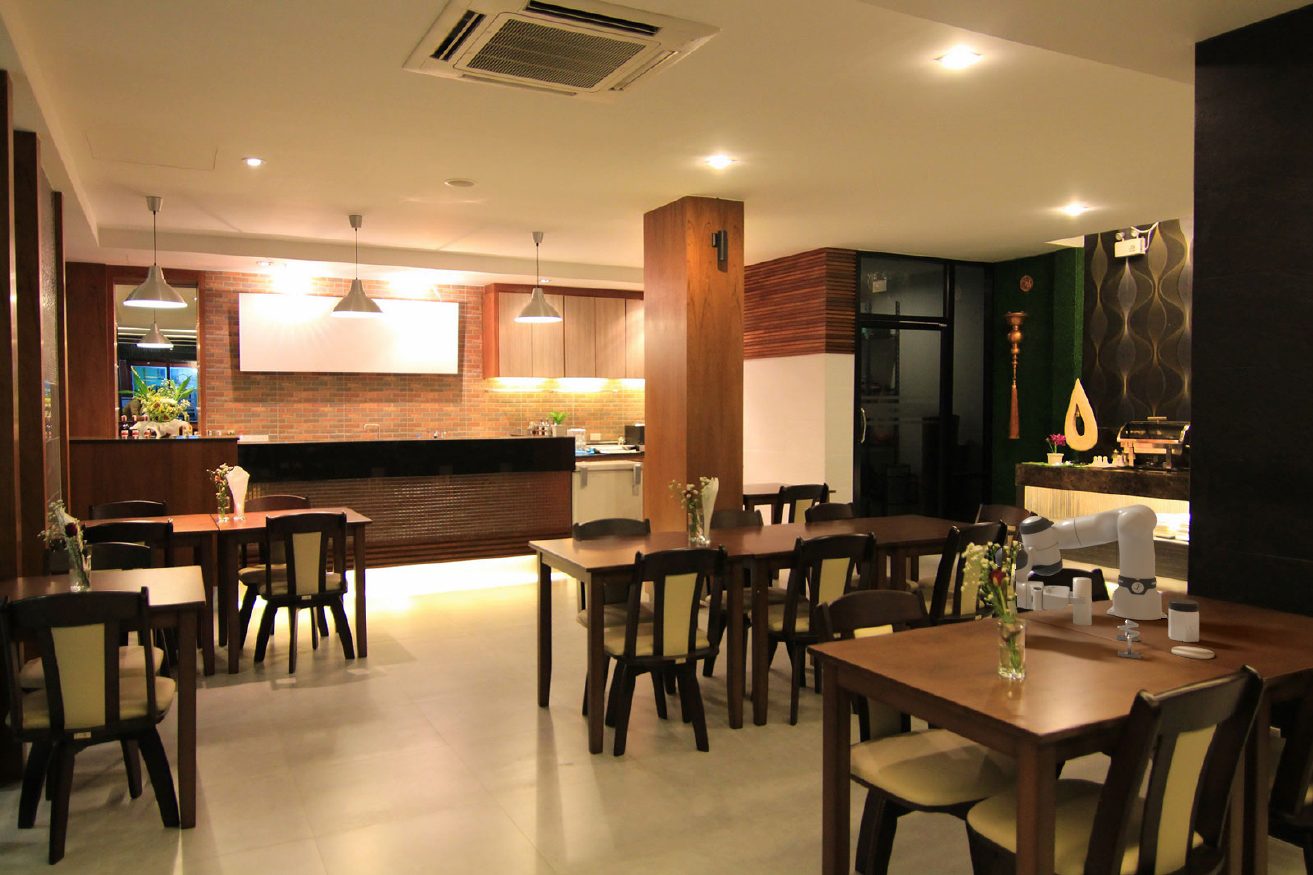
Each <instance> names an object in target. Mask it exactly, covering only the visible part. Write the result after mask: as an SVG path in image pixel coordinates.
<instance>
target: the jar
mask: <svg viewBox="0 0 1313 875" xmlns="http://www.w3.org/2000/svg"><path fill="white" fill-rule="evenodd" d="M1199 606H1200V604H1199V602H1198V601H1196V600H1192V599H1185V598H1171V599H1169V600H1168V615H1167V616H1168V618H1167V620H1168V621H1167V622H1168V627H1167V628H1168V629H1167V630H1168V632H1167V635H1168V638H1169V639H1170V640H1172V641H1177V642H1182V641H1183V643H1195V642H1197V643H1198V642H1199V641H1200V612H1199Z"/></svg>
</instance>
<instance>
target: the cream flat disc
mask: <svg viewBox="0 0 1313 875" xmlns="http://www.w3.org/2000/svg"><path fill="white" fill-rule="evenodd" d="M1170 651H1171V654H1174V655H1176V656H1180V657H1182V658H1189V659H1197V660H1199V659H1201V660H1203V659H1205V660H1207V659H1213V658H1215V652H1214V651H1212V650H1210V649H1208V648H1207V649H1206V648H1203V647H1202V648H1201V647H1196V646H1185V645H1183V646H1182V645H1181V646H1180V645H1179V646H1173V647H1171V650H1170Z"/></svg>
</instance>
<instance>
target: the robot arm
mask: <svg viewBox="0 0 1313 875" xmlns="http://www.w3.org/2000/svg"><path fill="white" fill-rule="evenodd" d="M1157 523H1158V517H1157V515H1156V513H1155V511H1154V510H1153V509H1152V508H1151V507H1149V506H1148V505H1144V504H1133V505H1128V506H1124V507H1119V508H1114V509H1111V510H1110V509H1109V510H1105V511H1101V512H1098V513H1091V514H1086V515H1082V516H1076V517H1072V518H1071V517H1070V518H1066V519H1064V520H1061V521H1058V522H1054V521H1053V520H1049V519H1048V518H1047V517H1045V516H1041V515H1034V516H1032V515H1031V516H1029V517H1027V518H1025V519H1023V520H1021V522H1020V523H1019V534H1020V535H1021V540H1022V542H1020V541H1018V542H1019V543H1021V548H1020V549H1019V552H1018V554H1017V557H1016V569H1015V575H1016V594H1017V607H1016V608H1022V609H1025V610H1026V609H1027V610H1034V611H1036V612H1043V610H1046V611H1048V610H1049V611H1063V610H1068V609H1069V606H1070V605H1072V606H1073V605H1074V604H1085V598H1082V597H1079V598H1075V597H1073V591H1070V590H1071V588H1070V586H1065V585H1063V586H1062V585H1044V582H1043V581H1035V580H1033V581H1032V580H1028V578H1029V576H1028V575H1030V574H1031V572H1033V573H1034V574H1036V575H1039V576H1043V577H1044V576H1045V577H1047V576H1052V575H1055V574H1057V573H1060V572H1061V570H1062V569H1063V566H1064V565H1063V564H1064V563H1063V558H1062V556H1061V551H1060V550H1070V549H1071V550H1072V549H1074V550H1075V549H1081V548H1086V547H1092V546H1098V545H1104V544H1108V543H1112V542H1117V541H1118V548H1119V550H1118V551H1119V574H1118V576H1117V585H1118V586H1117V588H1115V589H1114V590H1113V592H1112V596H1111V598H1112V603H1111V604H1112V606H1111V607H1110V608H1109V609H1108V610H1107V611H1106V614H1107V615H1112V616H1117V617H1119V618H1124V619H1128V620H1130V619H1131V620H1140V621H1154V620H1156V621H1157V620H1159V619H1161V618H1167V619H1168V615H1167V614H1166V613H1165V612H1163V611H1162V593H1160V592H1159V591H1158V590H1157V577H1156V552H1155V544H1154V530H1155V529H1156V527H1157ZM1008 543H1009V542H1007V543H1005V545H1004V546H1007V545H1008ZM994 557H995V564H997V566H998V567H1001V563H1002V547H1000V548H999V549H998V550H997V551H996V552H995V554H994ZM989 605H991V606H993V605H992V604H989Z"/></svg>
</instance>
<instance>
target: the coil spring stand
mask: <svg viewBox="0 0 1313 875" xmlns="http://www.w3.org/2000/svg"><path fill="white" fill-rule="evenodd" d="M1139 626H1140V625H1139V623H1137V622H1135V621H1133V620H1130V619H1129V618H1125V625H1117V629H1118V630H1120V631H1124V632H1125V635H1124V634H1116V640H1117V641H1125V642H1127V651H1121V650H1118V651H1117V657H1118V656H1121V657H1120V658H1125V657H1130V658H1129V659H1135V658H1138V659H1137V660H1142V653H1141V652H1132V642H1135V641H1138V642H1139V636H1140V635H1141V632H1140V631H1138V630H1135V629H1134V628H1138V627H1139Z"/></svg>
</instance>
